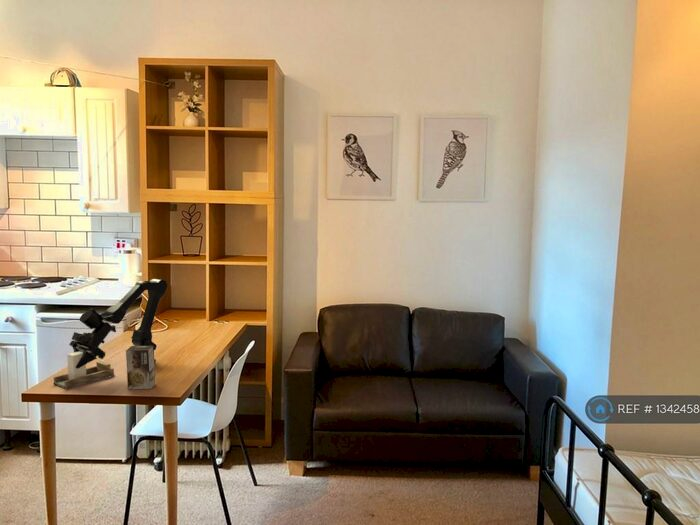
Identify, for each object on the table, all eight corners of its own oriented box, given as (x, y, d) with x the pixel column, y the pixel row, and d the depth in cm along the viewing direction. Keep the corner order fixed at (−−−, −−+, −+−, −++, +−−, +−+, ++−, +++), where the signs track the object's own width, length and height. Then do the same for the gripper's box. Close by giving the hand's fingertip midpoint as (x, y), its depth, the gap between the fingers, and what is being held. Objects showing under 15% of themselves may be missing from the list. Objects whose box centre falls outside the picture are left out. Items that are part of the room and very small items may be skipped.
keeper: (80, 375, 213) (79, 351, 212) (86, 378, 211) (85, 353, 209) (68, 379, 209) (67, 354, 208) (74, 381, 206) (72, 355, 205)
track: (101, 371, 223) (100, 360, 223) (114, 375, 218) (113, 364, 217) (53, 384, 207) (53, 372, 206) (66, 389, 201) (65, 376, 201)
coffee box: (155, 383, 208) (154, 345, 206) (150, 389, 202) (148, 349, 200) (133, 383, 208) (131, 345, 206) (126, 389, 202) (125, 349, 200)
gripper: (72, 321, 216) (46, 352, 208) (96, 327, 205) (70, 360, 197) (91, 335, 223) (67, 366, 215) (116, 342, 213) (91, 375, 205)
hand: (73, 367), depth 208 cm, fingers closed on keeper, 4 cm apart
